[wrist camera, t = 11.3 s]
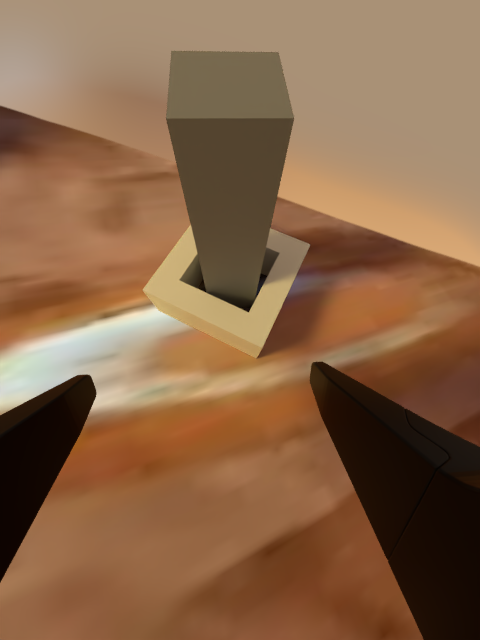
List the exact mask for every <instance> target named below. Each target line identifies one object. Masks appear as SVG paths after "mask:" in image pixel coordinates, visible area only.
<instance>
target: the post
mask: <svg viewBox="0 0 480 640" xmlns="http://www.w3.org/2000/svg"><path fill="white" fill-rule="evenodd" d="M166 120H167V124H168V129H169V133H170V137H171V141H172V145H173V150H174V154H175V159H176V163H177V167H178V172H179V176H180V180H181V185H182V189H183V193H184V197H185V202H186V206H187V210H188V215H189V219H190V223H191V228H192V232H193V236H194V240H195V245H196V249H197V253H198V258H199V262H200V266H201V270H202V275H203V279H204V283H205V288H206V292H207V293H208V294H210V295H212V296H214V297H216V298H218V299H221V300H223V301H225V302H227V303H229V304H231V305H234V306H236V307H238V308H251V307H252V305H253V304H254V301H255V296H256V292H257V287H258V282H259V278H260V273H261V269H262V264H263V259H264V255H265V250H266V246H267V241H268V236H269V232H270V227H271V222H272V218H273V213H274V209H275V204H276V199H277V195H278V190H279V186H280V181H281V176H282V171H283V167H284V163H285V158H286V153H287V149H288V144H289V139H290V135H291V130H292V126H293V121H294V116H293V112H292V107H291V103H290V99H289V95H288V90H287V86H286V82H285V78H284V74H283V69H282V65H281V61H280V57H279V53H278V52H211V51H207V52H206V51H172V52H171V63H170V78H169V89H168V102H167V114H166Z"/></svg>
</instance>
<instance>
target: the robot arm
mask: <svg viewBox="0 0 480 640" xmlns="http://www.w3.org/2000/svg"><path fill="white" fill-rule="evenodd" d="M310 384H311V387H312V390H313V393H314V396H315V399H316V402H317V405H318V408H319V411H320V414H321V417H322V419H323V421H324V424H325V426H326V428H327V430H328V432H329V434H330V437H331V439H332V441H333V443H334V445H335V447H336V450H337V452H338V454H339V456H340V458H341V460H342V463H343V465H344V467H345V469H346V471H347V473H348V476H349V478H350V480H351V482H352V484H353V486H354V489H355V491H356V493H357V495H358V497H359V500H360V502H361V504H362V506H363V508H364V510H365V513H366V515H367V517H368V519H369V521H370V523H371V526H372V528H373V530H374V532H375V534H376V536H377V539H378V541H379V543H380V545H381V547H382V549H383V552H384V554H385V556H386V558H387V559H388V563H389V565H390V567H391V569H392V572H393V574H394V576H395V578H396V580H397V582H398V585H399V587H400V589H401V591H402V593H403V595H404V598H405V600H406V602H407V604H408V606H409V608H410V611H411V613H412V615H413V617H414V619H415V622H416V624H417V626H418V628H419V630H420V632H421V635H422V637H423V639H424V640H480V447H479V446H477V445H475V444H473V443H471V442H469V441H467V440H465V439H463V438H461V437H459V436H457V435H455V434H453V433H451V432H449V431H447V430H445V429H443V428H441V427H439V426H437V425H435V424H433V423H431V422H429V421H428V420H426V419H424V418H422V417H420V416H418V415H417V414H415V413H413V412H411V411H410V410H408V409H404V407H402V406H401V405H399V404H397V403H395V402H393V401H392V400H390V399H388V398H386V397H384V396H383V395H381V394H379V393H377V392H376V391H374V390H372V389H370V388H368V387H367V386H365V385H363V384H361V383H360V382H358V381H356V380H354V379H352V378H351V377H349V376H347V375H345V374H344V373H342V372H340V371H338V370H336V369H335V368H333V367H331V366H329V365H328V364H326V363H324V362H313V363H312V366H311V373H310ZM95 397H96V389H95V386H94V383H93V380H92V378H91V376H90V375H77V376H75V377H73V378H71V379H69V380H67V381H65V382H64V383H62V384H60V385H58V386H56V387H54V388H52V389H50V390H48V391H46V392H44V393H42V394H40V395H39V396H37V397H35V398H33V399H31V400H29V401H27V402H25V403H23V404H21V405H19V406H17V407H15V408H13V409H12V410H10V411H8V412H6V413H4V414H2V415H0V582H1V580H2V578H3V577H4V575H5V573H6V571H7V569H8V567H9V565H10V564H11V562H12V560H13V558H14V556H15V554H16V552H17V551H18V549H19V547H20V545H21V543H22V541H23V539H24V537H25V536H26V534H27V532H28V530H29V528H30V526H31V524H32V523H33V521H34V519H35V517H36V515H37V513H38V511H39V510H40V508H41V506H42V504H43V502H44V500H45V498H46V497H47V495H48V493H49V491H50V489H51V487H52V485H53V484H54V482H55V480H56V478H57V476H58V474H59V472H60V471H61V469H62V467H63V465H64V463H65V461H66V459H67V458H68V456H69V454H70V452H71V450H72V448H73V446H74V445H75V443H76V441H77V439H78V437H79V435H80V433H81V431H82V429H83V426H84V424H85V421H86V419H87V417H88V414H89V412H90V409H91V407H92V405H93V402H94V400H95Z"/></svg>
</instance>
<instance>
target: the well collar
mask: <svg viewBox="0 0 480 640" xmlns="http://www.w3.org/2000/svg"><path fill="white" fill-rule="evenodd" d="M309 247H310V244H308V243H305V242H303V241H301V240H298V239H296V238H293V237H291V236H288V235H286V234H283V233H281V232H278V231H276V230H273V229H271V228H270V232H269V236H268V241H267V246H266V250H265V255H264V259H263V264H262V269H261V274H264V275H266V276H268V277H267V278H266V280H265V282H264V284H263V286H262V288H261V290H260V292H259V294H258V296H257V298H256V300H255V302H254V304H253V305H252V307H251V309H250V311H249V312H246V311H244V310H242V309H240V308H238V307H236V306H234V305H231V304H229V303H227V302H225V301H223V300H221V299H218V298H216V297H214V296H212V295H210V294H208V293H206V292H203V291H201V290H199V289H197V288H198V287H199V285H200V283H201V282H202V280H203V275H202V270H201V266H200V262H199V258H198V253H197V249H196V245H195V240H194V236H193V232H192V228H191V225H190V226H189V228H188V229H187V230H186V232H185V233H184V234H183V236H182V237H181V238H180V240H179V241H178V243H177V244H176V245H175V247H174V248H173V249H172V251H171V252H170V253H169V255H168V256H167V257H166V259H165V260H164V262H163V263H162V264H161V266H160V267H159V268H158V270H157V271H156V272H155V274H154V275H153V277H152V278H151V279H150V281H149V282H148V283H147V285H146V286H145V287H144V289H143V291H144V293H145V294H146V295H147V296H148V298H149V299H150V300H151V301H152V303H153V304H154V305H155V306H156V308H157V309H158V310H159V311H161V312H163V313H165V314H167V315H169V316H171V317H173V318H175V319H177V320H179V321H181V322H183V323H185V324H187V325H189V326H191V327H193V328H195V329H197V330H199V331H201V332H203V333H205V334H207V335H210V336H212V337H214V338H216V339H218V340H220V341H222V342H224V343H226V344H228V345H230V346H232V347H234V348H236V349H238V350H240V351H242V352H244V353H246V354H248V355H250V356H252V357H254V358H256V359H257V357H258V355H259V353H260V351H261V350H262V348H263V345H264V343H265V341H266V339H267V337H268V335H269V333H270V330H271V328H272V326H273V324H274V322H275V320H276V318H277V315H278V313H279V311H280V309H281V307H282V305H283V303H284V300H285V298H286V296H287V294H288V292H289V290H290V288H291V285H292V283H293V281H294V279H295V277H296V275H297V273H298V270H299V268H300V266H301V264H302V262H303V260H304V257H305V255H306V253H307V251H308V249H309Z"/></svg>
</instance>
